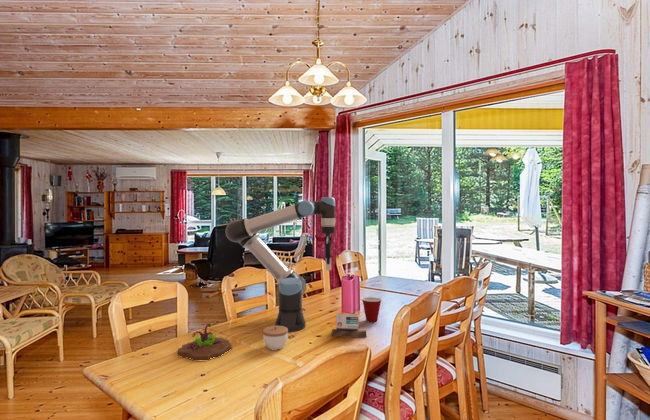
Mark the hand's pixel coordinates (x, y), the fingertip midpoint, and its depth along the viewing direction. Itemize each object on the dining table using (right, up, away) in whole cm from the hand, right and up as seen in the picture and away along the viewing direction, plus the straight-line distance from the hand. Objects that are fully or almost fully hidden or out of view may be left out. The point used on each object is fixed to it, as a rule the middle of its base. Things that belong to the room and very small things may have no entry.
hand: (328, 269), depth 194 cm
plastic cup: (+23, -27, -3) cm, 35 cm away
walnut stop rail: (+9, -27, -25) cm, 38 cm away
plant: (-52, -28, -41) cm, 72 cm away
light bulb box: (+9, -24, -17) cm, 30 cm away
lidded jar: (-23, -27, -38) cm, 52 cm away
